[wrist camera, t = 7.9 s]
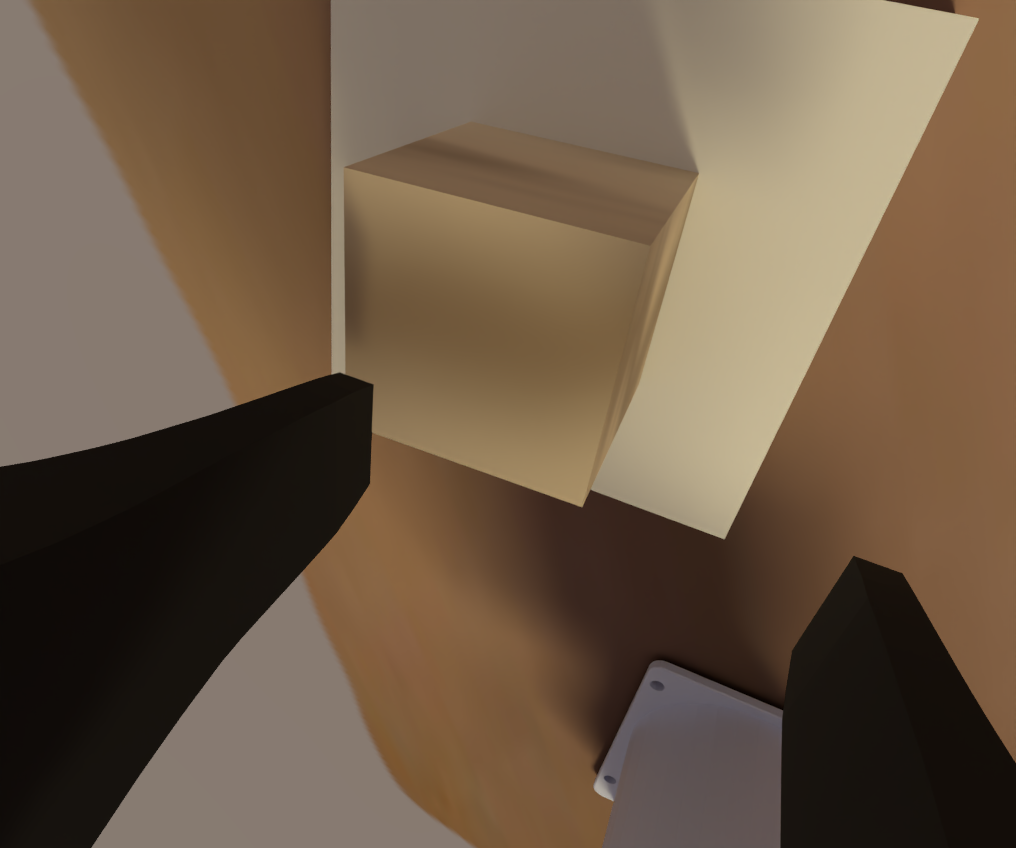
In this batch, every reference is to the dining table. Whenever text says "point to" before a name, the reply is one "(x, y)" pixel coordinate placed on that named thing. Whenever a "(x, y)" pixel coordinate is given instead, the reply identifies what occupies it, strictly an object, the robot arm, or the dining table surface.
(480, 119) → the beige block
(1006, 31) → the dining table surface
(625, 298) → the maple cube
